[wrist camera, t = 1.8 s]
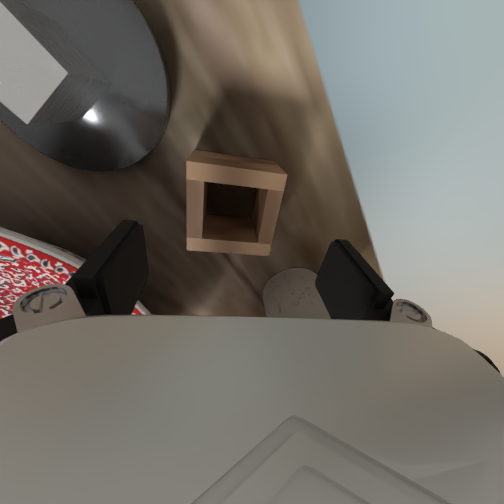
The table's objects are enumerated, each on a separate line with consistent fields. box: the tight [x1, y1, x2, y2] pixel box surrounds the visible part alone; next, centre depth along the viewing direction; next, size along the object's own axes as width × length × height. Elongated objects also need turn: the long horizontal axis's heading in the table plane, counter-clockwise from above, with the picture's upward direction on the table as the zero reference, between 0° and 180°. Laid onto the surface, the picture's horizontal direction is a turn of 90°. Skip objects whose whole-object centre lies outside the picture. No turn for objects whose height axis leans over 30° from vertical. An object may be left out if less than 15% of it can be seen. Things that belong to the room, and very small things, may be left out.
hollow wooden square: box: [186, 150, 287, 256], centre depth 19 cm, size 7×7×5 cm
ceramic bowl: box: [0, 227, 152, 319], centre depth 22 cm, size 29×29×8 cm
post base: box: [0, 0, 171, 171], centre depth 13 cm, size 12×12×6 cm
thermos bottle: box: [262, 268, 331, 319], centre depth 17 cm, size 8×8×28 cm
